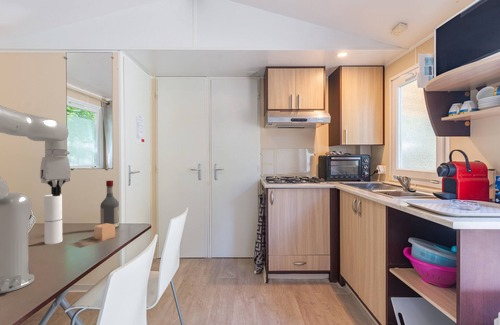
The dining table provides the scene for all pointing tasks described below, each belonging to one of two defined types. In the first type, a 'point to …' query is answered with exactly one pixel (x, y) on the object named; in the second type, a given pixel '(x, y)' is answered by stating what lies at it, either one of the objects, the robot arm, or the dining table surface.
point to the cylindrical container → (52, 219)
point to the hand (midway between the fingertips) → (56, 195)
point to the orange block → (104, 231)
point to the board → (88, 242)
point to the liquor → (109, 207)
